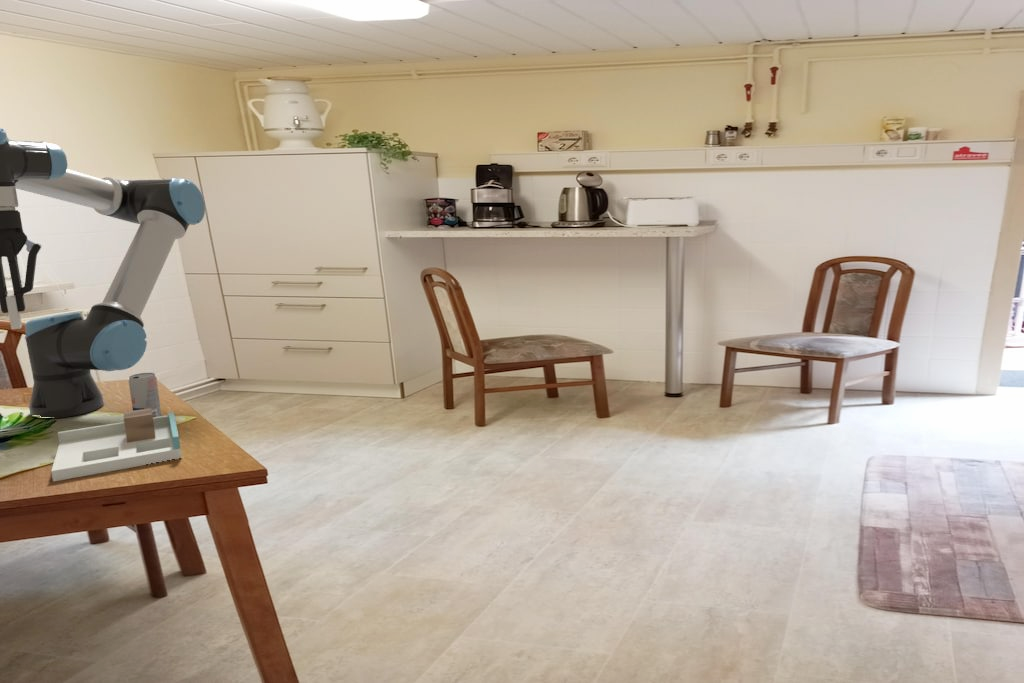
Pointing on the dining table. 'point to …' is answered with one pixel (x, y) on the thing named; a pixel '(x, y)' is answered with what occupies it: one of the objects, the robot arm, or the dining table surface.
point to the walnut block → (139, 425)
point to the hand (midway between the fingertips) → (16, 327)
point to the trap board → (113, 449)
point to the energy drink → (145, 393)
